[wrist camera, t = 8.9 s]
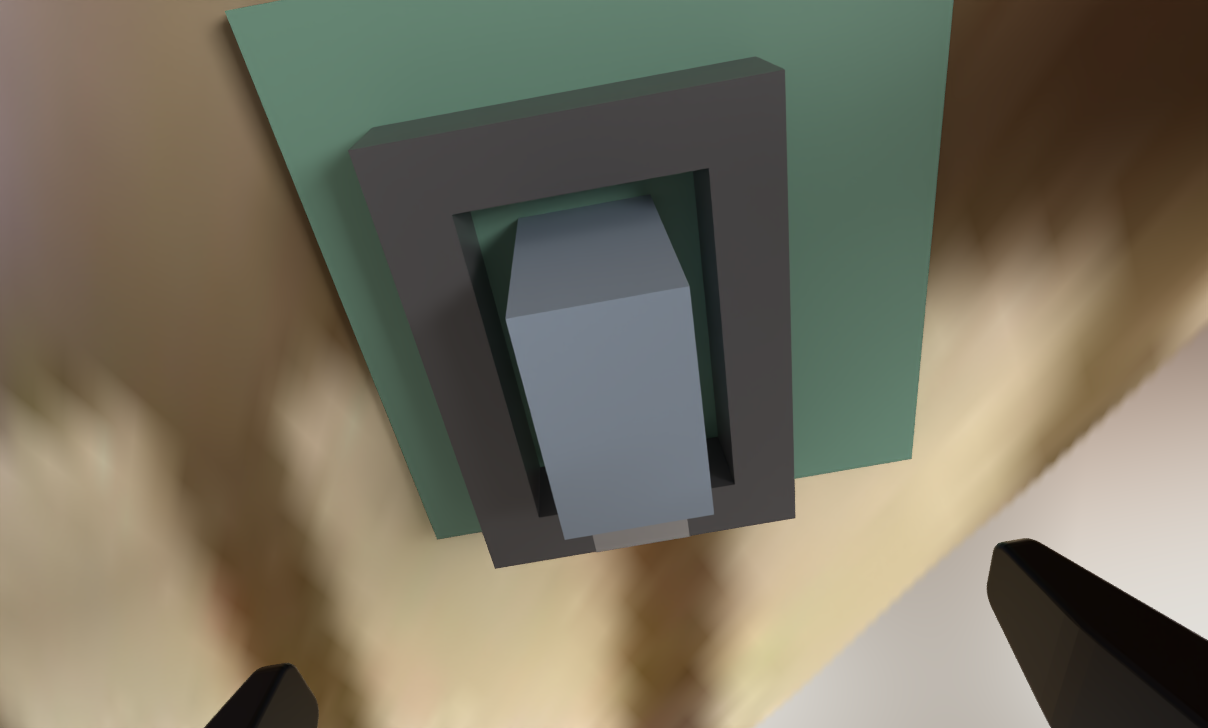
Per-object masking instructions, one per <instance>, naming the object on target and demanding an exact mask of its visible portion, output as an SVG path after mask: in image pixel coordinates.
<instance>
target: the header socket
mask: <svg viewBox="0 0 1208 728" xmlns="http://www.w3.org/2000/svg"><path fill="white" fill-rule="evenodd" d="M348 152H349V155H350V158H351V160H352V163H353V166H354V169H355V172H356V175H357V178H358V180H359V183H360V186H361V189H362V192H363V195H364V197H365V200H366V203H367V206H368V209H369V212H370V214H371V217H372V220H373V223H374V226H375V229H376V232H377V234H378V237H379V240H380V243H381V246H382V249H383V251H384V254H385V257H386V260H387V263H388V266H389V268H390V271H391V274H392V277H393V280H394V283H395V285H396V288H397V291H398V294H399V297H400V300H401V303H402V305H403V308H404V311H405V314H406V317H407V320H408V322H409V325H410V328H411V331H412V334H413V337H414V339H415V342H416V345H417V348H418V351H419V354H420V357H421V359H422V362H423V365H424V368H425V371H426V374H427V376H428V379H429V382H430V385H431V388H432V391H433V393H434V396H435V399H436V402H437V405H438V408H439V410H440V413H441V416H442V419H443V422H444V425H445V428H446V430H447V433H448V436H449V439H450V442H451V445H452V447H453V450H454V453H455V456H456V459H457V462H458V464H459V467H460V470H461V473H462V476H463V479H464V482H465V484H466V487H467V490H468V493H469V496H470V499H471V501H472V504H473V507H474V510H475V513H476V516H477V518H478V521H479V524H480V527H481V530H482V533H483V535H484V538H485V541H486V544H487V547H488V550H489V553H490V555H491V558H492V561H493V564H494V567H495V569H496V568H502V567H508V566H514V565H520V564H526V563H531V562H537V561H543V560H549V559H555V558H561V557H567V556H573V555H579V554H585V553H591V552H596V548H595V543H594V539H593V535H591V536H585V537H579V538H573V539H567V540H565V539H564V535H563V531H562V527H561V524H560V520H559V516H558V513H557V509H556V505H555V501H554V498H553V494H552V490H551V486H550V483H549V479H548V475H547V472H546V468H545V466H544V467H540V465H539V462H538V458H537V454H536V451H535V447H534V443H533V440H532V436H531V432H530V429H529V425H528V421H527V418H526V414H525V410H524V407H523V403H522V399H521V396H520V392H519V388H518V385H517V381H516V377H515V374H514V370H513V366H512V363H511V359H510V355H509V352H508V348H507V344H506V341H505V337H504V333H503V330H502V326H501V322H500V319H499V315H498V311H497V308H496V304H495V300H494V297H493V293H492V289H491V286H490V282H489V278H488V275H487V271H486V267H485V264H484V260H483V256H482V253H481V249H480V245H479V242H478V238H477V234H476V231H475V227H474V223H473V220H472V216H471V212H470V211H475V210H481V209H486V208H492V207H497V206H503V205H508V204H514V203H519V202H525V201H530V200H536V199H541V198H547V197H552V196H558V195H563V194H569V193H574V192H580V191H585V190H591V189H596V188H602V187H607V186H613V185H618V184H624V183H629V182H635V181H640V180H646V179H651V178H657V177H662V176H668V175H673V174H679V173H684V172H690V171H693V177H694V188H695V199H696V209H697V220H698V230H699V241H700V251H701V262H702V272H703V283H704V293H705V304H706V315H707V325H708V336H709V346H710V357H711V367H712V378H713V388H714V399H715V409H716V420H717V431H718V437H713V438H707V439H706V443H707V453H708V462H709V471H710V481H711V490H712V499H713V508H714V515H708V516H702V517H696V518H691V519H687V521H688V528H689V536H692V535H698V534H703V533H709V532H715V531H721V530H727V529H733V528H739V527H745V526H751V525H757V524H763V523H769V522H775V521H781V520H787V519H792V518H795V482H794V438H793V395H792V351H791V307H790V263H789V219H788V176H787V132H786V88H785V69H783V68H781V67H778V66H776V65H774V64H772V63H770V62H768V61H765V60H763V59H761V58H759V57H757V56H754V57H749V58H744V59H738V60H733V61H728V62H722V63H717V64H711V65H706V66H701V67H695V68H690V69H684V70H679V71H674V72H668V73H663V74H657V75H652V76H647V77H641V78H636V79H631V80H625V81H620V82H614V83H609V84H604V85H598V86H593V87H587V88H582V89H577V90H571V91H566V92H561V93H555V94H550V95H544V96H539V97H534V98H528V99H523V100H517V101H512V102H507V103H501V104H496V105H490V106H485V107H480V108H474V109H469V110H464V111H458V112H453V113H447V114H442V115H437V116H431V117H426V118H420V119H415V120H410V121H404V122H399V123H394V124H388V125H383V126H377V127H373V128H371V129H370V130H369V131H368V132H367V133H366V134H365V135H364V136H363V137H362V138H361V139H360V140H359V141H358V142H356V143H355V144H354V145H353V146H352V147H351V148H350V149H349V150H348Z"/></svg>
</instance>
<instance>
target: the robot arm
mask: <svg viewBox="0 0 1208 728" xmlns="http://www.w3.org/2000/svg"><path fill="white" fill-rule="evenodd" d="M987 595H988V599H989V602H990V605H991V607H992V609H993V611H994V613H995V615H996V618H997V620H998V622H999V624H1000V626H1001V628H1002V630H1003V632H1004V634H1005V636H1006V638H1007V640H1008V642H1009V644H1010V646H1011V648H1012V650H1013V653H1014V655H1015V657H1016V659H1017V661H1018V663H1019V665H1020V667H1021V669H1022V671H1023V673H1024V675H1025V677H1026V679H1027V681H1028V683H1029V685H1030V687H1031V690H1032V692H1033V694H1034V696H1035V698H1036V700H1037V702H1038V704H1039V706H1040V708H1041V710H1042V712H1043V714H1044V715H1045V717H1046V719H1047V721H1048V723H1049V725H1050V727H1051V728H1208V640H1207V639H1205V638H1203V637H1201V636H1200V635H1198V634H1196V633H1195V632H1193V631H1191V630H1189V629H1187V628H1186V627H1184V626H1182V625H1181V624H1179V623H1177V622H1176V621H1174V620H1172V619H1170V618H1169V617H1167V616H1165V615H1164V614H1162V613H1160V612H1158V611H1156V610H1155V609H1153V608H1152V607H1150V606H1148V605H1146V604H1145V603H1143V602H1141V601H1140V600H1138V599H1136V598H1134V597H1133V596H1131V595H1129V594H1128V593H1126V592H1124V591H1122V590H1121V589H1119V588H1117V587H1116V586H1114V585H1112V584H1110V583H1109V582H1107V581H1105V580H1103V579H1102V578H1100V577H1098V576H1097V575H1095V574H1093V573H1091V572H1090V571H1088V570H1086V569H1084V568H1083V567H1081V566H1079V565H1078V564H1076V563H1074V562H1073V561H1071V560H1069V559H1067V558H1066V557H1064V556H1062V555H1061V554H1059V553H1057V552H1055V551H1054V550H1052V549H1050V548H1048V547H1047V546H1045V545H1043V544H1041V543H1040V542H1038V541H1035V540H1033V539H1029V538H1023V539H1017V540H1011V541H1005V542H1001V543H998V544H997V545H996V546H995V548H994V550H993V555H992V560H991V566H990V571H989V576H988V582H987ZM318 717H319V710H318V704H317V700H316V698H315V696H314V694H313V693H312V691H311V690H310V688H309V687H308V685H307V683H306V682H305V680H304V679H303V677H302V676H301V674H300V672H299V671H298V669H297V668H296V667H295V666H294V665H293V664H290V663H282V664H276V665H270V666H265V667H261V668H259V669H257V670H256V671H255V672H254V673H253V674H252V675H251V676H250V677H249V678H248V679H247V680H246V681H245V682H244V683H243V685H242V686H241V687H240V688H239V689H238V690H237V691H236V692H235V693H234V695H233V696H232V697H231V698H230V699H229V700H228V701H227V702H226V704H225V705H224V706H223V707H222V708H221V709H220V710H219V711H218V713H217V714H216V715H215V716H214V717H213V718H212V719H211V720H210V722H209V723H208V724H207V725H206V726H205V727H204V728H317V726H318Z"/></svg>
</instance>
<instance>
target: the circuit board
mask: <svg viewBox="0 0 1208 728" xmlns="http://www.w3.org/2000/svg"><path fill="white" fill-rule="evenodd" d="M952 11H953V0H280V1H275V2H270V3H264V4H259V5H254V6H249V7H243V8H238V9H233V10H228V11H225V13H226V15H227V18H228V20H229V23H230V25H231V28H232V30H233V33H234V35H235V38H236V40H237V43H238V45H239V48H240V50H241V53H242V55H243V58H244V60H245V63H246V65H247V68H248V70H249V73H250V75H251V78H252V80H253V83H254V85H255V88H256V90H257V92H258V95H259V97H260V100H261V102H262V105H263V107H264V110H265V112H266V115H267V117H268V120H269V122H270V125H271V127H272V130H273V132H274V135H275V137H276V140H277V142H278V145H279V147H280V150H281V152H282V155H283V157H284V160H285V162H286V165H287V167H288V170H289V172H290V175H291V177H292V179H293V182H294V184H295V187H296V189H297V192H298V194H299V197H300V199H301V202H302V204H303V207H304V209H305V212H306V214H307V217H308V219H309V222H310V224H311V227H312V229H313V232H314V234H315V237H316V239H317V242H318V244H319V247H320V249H321V252H322V254H323V257H324V259H325V262H326V264H327V266H328V269H329V271H330V274H331V276H332V279H333V281H334V284H335V286H336V289H337V291H338V294H339V296H340V299H341V301H342V304H343V306H344V309H345V311H346V314H347V316H348V319H349V321H350V324H351V326H352V329H353V331H354V334H355V336H356V339H357V341H358V344H359V346H360V348H361V351H362V353H363V356H364V358H365V361H366V363H367V366H368V368H369V371H370V373H371V376H372V378H373V381H374V383H375V386H376V388H377V391H378V393H379V396H380V398H381V401H382V403H383V406H384V408H385V411H386V413H387V416H388V418H389V421H390V423H391V426H392V428H393V431H394V433H395V435H396V438H397V440H398V443H399V445H400V448H401V450H402V453H403V455H404V458H405V460H406V463H407V465H408V468H409V470H410V473H411V475H412V478H413V480H414V483H415V485H416V488H417V490H418V493H419V495H420V498H421V500H422V503H423V505H424V508H425V510H426V513H427V515H428V518H429V520H430V522H431V525H432V527H433V530H434V532H435V535H436V537H437V539H443V538H449V537H455V536H461V535H466V534H472V533H478V532H482V530H481V527H480V524H479V521H478V518H477V516H476V513H475V510H474V507H473V504H472V501H471V499H470V496H469V493H468V490H467V487H466V484H465V482H464V479H463V476H462V473H461V470H460V467H459V464H458V462H457V459H456V456H455V453H454V450H453V447H452V445H451V442H450V439H449V436H448V433H447V430H446V428H445V425H444V422H443V419H442V416H441V413H440V410H439V408H438V405H437V402H436V399H435V396H434V393H433V391H432V388H431V385H430V382H429V379H428V376H427V374H426V371H425V368H424V365H423V362H422V359H421V357H420V354H419V351H418V348H417V345H416V342H415V339H414V337H413V334H412V331H411V328H410V325H409V322H408V320H407V317H406V314H405V311H404V308H403V305H402V303H401V300H400V297H399V294H398V291H397V288H396V285H395V283H394V280H393V277H392V274H391V271H390V268H389V266H388V263H387V260H386V257H385V254H384V251H383V249H382V246H381V243H380V240H379V237H378V234H377V232H376V229H375V226H374V223H373V220H372V217H371V214H370V212H369V209H368V206H367V203H366V200H365V197H364V195H363V192H362V189H361V186H360V183H359V180H358V178H357V175H356V172H355V169H354V166H353V163H352V160H351V158H350V155H349V152H348V150H349V149H350V148H351V147H352V146H353V145H354V144H355V143H356V142H358V141H359V140H360V139H361V138H362V137H363V136H364V135H365V134H366V133H367V132H368V131H369V130H370V129H371V128H373V127H377V126H383V125H388V124H394V123H399V122H404V121H410V120H415V119H420V118H426V117H431V116H437V115H442V114H447V113H453V112H458V111H464V110H469V109H474V108H480V107H485V106H490V105H496V104H501V103H507V102H512V101H517V100H523V99H528V98H534V97H539V96H544V95H550V94H555V93H561V92H566V91H571V90H577V89H582V88H587V87H593V86H598V85H604V84H609V83H614V82H620V81H625V80H631V79H636V78H641V77H647V76H652V75H657V74H663V73H668V72H674V71H679V70H684V69H690V68H695V67H701V66H706V65H711V64H717V63H722V62H728V61H733V60H738V59H744V58H749V57H754V56H757V57H759V58H761V59H763V60H765V61H768V62H770V63H772V64H774V65H776V66H778V67H781V68H783V69H785V88H786V132H787V176H788V219H789V263H790V307H791V351H792V395H793V438H794V479H796V478H802V477H808V476H813V475H819V474H825V473H831V472H837V471H843V470H849V469H855V468H861V467H866V466H872V465H878V464H884V463H890V462H896V461H902V460H908V459H911V458H912V447H913V436H914V425H915V414H916V404H917V393H918V382H919V371H920V360H921V349H922V338H923V327H924V316H925V305H926V295H927V284H928V273H929V262H930V251H931V240H932V229H933V218H934V207H935V196H936V186H937V175H938V164H939V153H940V142H941V131H942V120H943V109H944V98H945V87H946V77H947V66H948V55H949V44H950V33H951V22H952ZM649 194H650V195H651V198H652V200H653V202H654V205H655V207H656V209H657V212H658V214H659V216H660V219H661V221H662V223H663V225H664V228H665V230H666V232H667V235H668V237H669V239H670V242H671V244H672V246H673V249H674V251H675V253H676V256H677V258H678V260H679V263H680V265H681V267H682V270H683V272H684V274H685V277H686V279H687V281H688V284H689V286H690V295H691V305H692V314H693V323H694V332H695V342H696V351H697V360H698V369H699V379H700V388H701V397H702V406H703V416H704V425H705V434H706V439H707V438H713V437H718V431H717V420H716V409H715V399H714V388H713V378H712V367H711V357H710V346H709V336H708V325H707V315H706V304H705V293H704V283H703V272H702V262H701V251H700V241H699V230H698V220H697V209H696V199H695V188H694V177H693V171H690V172H684V173H679V174H673V175H668V176H662V177H657V178H651V179H646V180H640V181H635V182H629V183H624V184H618V185H613V186H607V187H602V188H596V189H591V190H585V191H580V192H574V193H569V194H563V195H558V196H552V197H547V198H541V199H536V200H530V201H525V202H519V203H514V204H508V205H503V206H497V207H492V208H486V209H481V210H475V211H470V212H471V216H472V220H473V223H474V227H475V231H476V234H477V238H478V242H479V245H480V249H481V253H482V256H483V260H484V264H485V267H486V271H487V275H488V278H489V282H490V286H491V289H492V293H493V297H494V300H495V304H496V308H497V311H498V315H499V319H500V322H501V326H502V330H503V333H504V337H505V341H506V344H507V348H508V352H509V355H510V359H511V363H512V366H513V370H514V374H515V377H516V381H517V385H518V388H519V392H520V396H521V399H522V403H523V407H524V410H525V414H526V418H527V421H528V425H529V429H530V432H531V436H532V440H533V443H534V447H535V451H536V454H537V458H538V462H539V465H540V467H544V466H545V464H544V460H543V457H542V453H541V449H540V446H539V442H538V438H537V434H536V431H535V427H534V423H533V420H532V416H531V412H530V408H529V405H528V401H527V397H526V394H525V390H524V386H523V382H522V379H521V375H520V371H519V368H518V364H517V360H516V356H515V353H514V349H513V345H512V342H511V338H510V334H509V330H508V327H507V323H506V319H505V318H506V311H507V303H508V295H509V287H510V279H511V271H512V263H513V255H514V247H515V239H516V231H517V223H518V218H523V217H528V216H534V215H539V214H545V213H550V212H556V211H561V210H567V209H572V208H578V207H583V206H589V205H594V204H600V203H605V202H610V201H616V200H621V199H627V198H632V197H638V196H643V195H649Z"/></svg>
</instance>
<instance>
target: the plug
mask: <svg viewBox="0 0 1208 728" xmlns="http://www.w3.org/2000/svg"><path fill="white" fill-rule="evenodd" d="M505 319H506V323H507V327H508V330H509V334H510V338H511V342H512V345H513V349H514V353H515V356H516V360H517V364H518V368H519V371H520V375H521V379H522V382H523V386H524V390H525V394H526V397H527V401H528V405H529V408H530V412H531V416H532V420H533V423H534V427H535V431H536V434H537V438H538V442H539V446H540V449H541V453H542V457H543V460H544V464H545V468H546V472H547V475H548V479H549V483H550V486H551V490H552V494H553V498H554V501H555V505H556V509H557V513H558V516H559V520H560V524H561V527H562V531H563V535H564V539H565V540H567V539H573V538H579V537H585V536H591V535H593V539H594V543H595V548H596V552H601V551H607V550H613V549H619V548H625V547H630V546H636V545H642V544H648V543H654V542H660V541H666V540H672V539H678V538H684V537H690V536H689V528H688V521H687V519H691V518H696V517H702V516H708V515H714V508H713V499H712V490H711V481H710V471H709V462H708V453H707V443H706V434H705V425H704V416H703V406H702V397H701V388H700V379H699V369H698V360H697V351H696V342H695V332H694V323H693V314H692V305H691V295H690V286H689V284H688V281H687V279H686V277H685V274H684V272H683V270H682V267H681V265H680V263H679V260H678V258H677V256H676V253H675V251H674V249H673V246H672V244H671V242H670V239H669V237H668V235H667V232H666V230H665V228H664V225H663V223H662V221H661V219H660V216H659V214H658V212H657V209H656V207H655V205H654V202H653V200H652V198H651V195H650V194H649V195H643V196H638V197H632V198H627V199H621V200H616V201H610V202H605V203H600V204H594V205H589V206H583V207H578V208H572V209H567V210H561V211H556V212H550V213H545V214H539V215H534V216H528V217H523V218H518V223H517V231H516V239H515V247H514V255H513V263H512V271H511V279H510V287H509V295H508V303H507V311H506V318H505Z"/></svg>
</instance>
